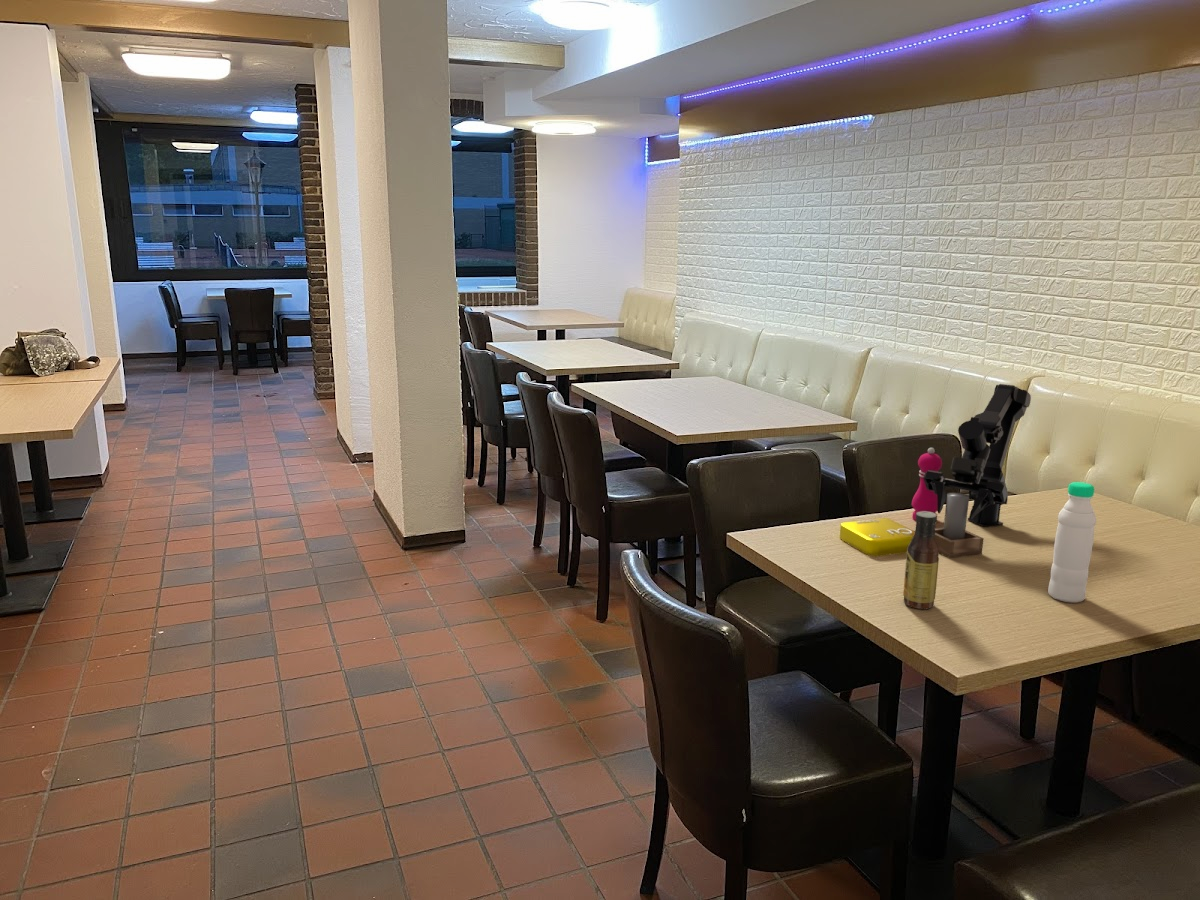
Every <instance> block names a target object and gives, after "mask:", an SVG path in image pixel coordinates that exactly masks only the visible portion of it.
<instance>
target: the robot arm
mask: <svg viewBox="0 0 1200 900" xmlns="http://www.w3.org/2000/svg"><path fill="white" fill-rule="evenodd" d="M1031 399H1032V396H1031V394H1030V393H1029V392H1028V391H1027V389H1021V388H1019V386H1015V385H1013V384H1004V383H1000V384H996V385H995V387H994V391H993V395H992V396H991V398H990V399H989V401H988V403H987V405H986V407H985V408H984V410H983V412H980V413H978V414H976V415H974V416H971V417H970V420H966V421H964V422H963V423H961V424H960V425H959V426H958V427H957V429H958V430H957V431H958V437H959V440H960V444H961V448H962V449H963V454H962V456H961V457H959V456H953V458H952V461H951V466H950V470H951V472H952V473H951V476H952V477H953V479H952V478H946V477H944V473H943V471H938V472H937V471H931V470H928V471H927V472H926V473H925V474H924V477H923V479H924V482H925V485H926V488H927V489H928V490H930V491H934V493H935V494H937V508H938V511H937V513H938V514H941V512H942V510H943V508H944V505H945V501H946V500H947V494H948V493H947V490H946V489H947V488H953V489H958V490H964V491H968V496H969V501H970V500H973V505H972V506H971V510H970V513H969V517H967V521H969V522H972V523H973V524H974V523H975V524H976V525H978V526H981V527H983V528H984V527H986V526H987V527H992V526H993V527H994V526H995V527H996V526H1002V525H1003V524H1004V522H1002V521H1000V515H1001V506H1002V505H1007V504H1008V499H1009V497H1008V496H1009V494H1008V493H1009V492H1008V488H1007V483H1006V478H1005V476H1004V473H1003V466H1004V463H1005V459H1006V456H1007V453H1008V449H1009V445H1010V442H1011V440H1012V436H1013V432H1014V427H1015V425H1016V422H1018V421H1019V420H1020V419H1021V418H1023V417H1024V415H1025V414H1026V410H1027V408H1029V407H1030V405H1031Z"/></svg>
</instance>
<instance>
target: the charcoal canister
mask: <svg viewBox="0 0 1200 900" xmlns="http://www.w3.org/2000/svg"><path fill="white" fill-rule="evenodd" d="M946 494H947V496H946V499H945V501H946V503H945V508H944V509H945V511H944V521H943V527H942V528H943V537H946V538H948V539H950V540H959V539H965V530H966V528H967V521H968V511H969V502H970V499H969V494H967V493H966V494H965V493H960V492H947V493H946ZM966 531H967V530H966Z"/></svg>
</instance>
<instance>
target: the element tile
mask: <svg viewBox="0 0 1200 900" xmlns="http://www.w3.org/2000/svg"><path fill="white" fill-rule="evenodd" d="M839 527H840V528H839V540H841V539H842V540H843V541H842V540H841V541H842V542H844V541H845V542H844V543H846V542H847V543H846V544H848V543H849V544H850V546H851V545H852V546H851V547H853V546H854V547H853V548H854V549H856V548H857V549H856V550H858V551H859V552H861V553H863V554H865V555H868V556H872V557H880V556H881V555H882V556H888V555H889V556H891V555H899V554H907V548H908V546H909V544H910V542H911V540H912V538H913V536H914V534H915V530H913V529H912V528H909V527H907V526H905V525H904V524H901V523H899V522H897V521H895V520H893V519H891V518H886V517H884V518H874V519H866V520H864V519H863V520H854V521H845V522H841V523H840V526H839ZM849 544H848V545H849ZM890 554H891V555H890Z"/></svg>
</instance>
